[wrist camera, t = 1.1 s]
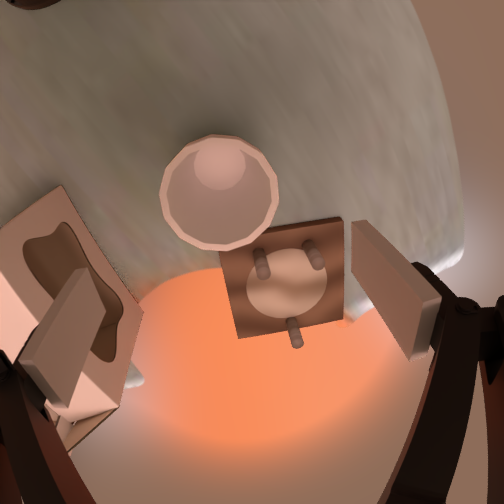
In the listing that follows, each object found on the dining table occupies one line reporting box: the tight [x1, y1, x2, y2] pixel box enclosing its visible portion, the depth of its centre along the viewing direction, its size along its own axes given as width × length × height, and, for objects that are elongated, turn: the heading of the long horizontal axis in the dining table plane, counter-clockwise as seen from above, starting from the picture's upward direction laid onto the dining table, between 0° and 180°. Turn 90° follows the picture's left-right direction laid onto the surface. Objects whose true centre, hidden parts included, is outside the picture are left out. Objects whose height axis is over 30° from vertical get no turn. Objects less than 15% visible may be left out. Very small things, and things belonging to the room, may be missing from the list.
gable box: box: [0, 185, 144, 456], centre depth 28 cm, size 22×13×28 cm, turn 23°
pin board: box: [219, 217, 344, 349], centre depth 41 cm, size 16×16×6 cm
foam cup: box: [159, 134, 279, 251], centre depth 31 cm, size 10×9×13 cm
